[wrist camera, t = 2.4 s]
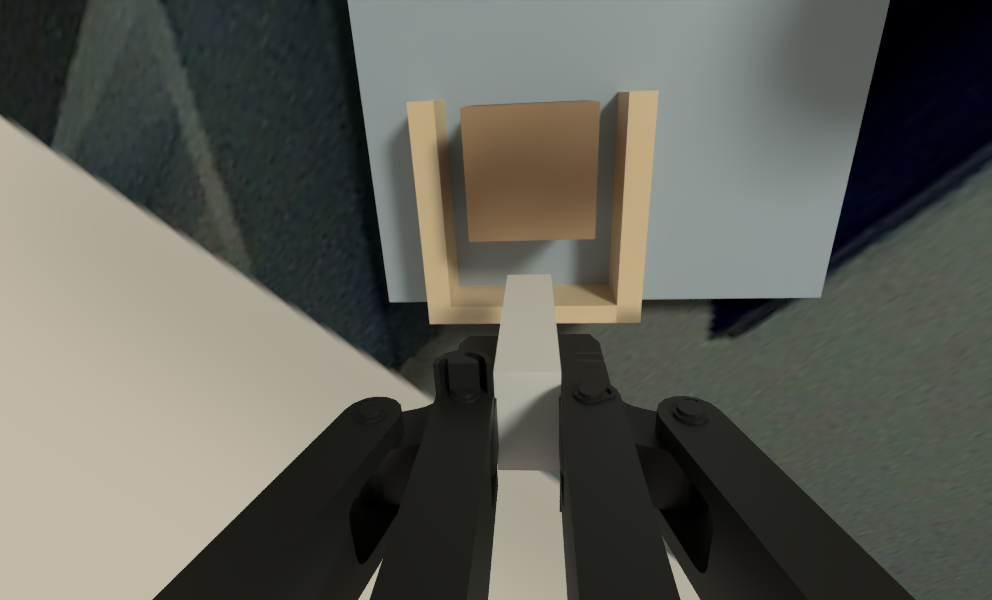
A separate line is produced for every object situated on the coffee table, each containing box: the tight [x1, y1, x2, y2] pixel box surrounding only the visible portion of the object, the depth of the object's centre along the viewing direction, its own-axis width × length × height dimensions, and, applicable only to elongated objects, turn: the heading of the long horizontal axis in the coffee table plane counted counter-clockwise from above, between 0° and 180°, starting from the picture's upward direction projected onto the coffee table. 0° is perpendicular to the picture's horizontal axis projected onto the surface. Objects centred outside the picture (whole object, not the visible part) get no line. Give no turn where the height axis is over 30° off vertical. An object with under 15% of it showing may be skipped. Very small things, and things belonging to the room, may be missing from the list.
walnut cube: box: [460, 100, 600, 242], centre depth 19 cm, size 4×4×4 cm
